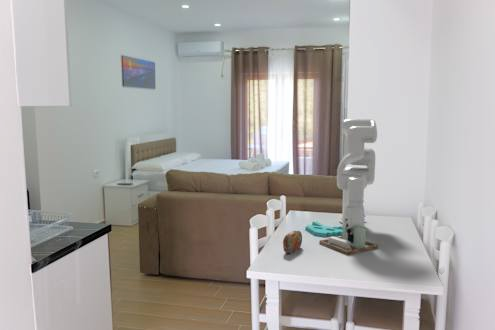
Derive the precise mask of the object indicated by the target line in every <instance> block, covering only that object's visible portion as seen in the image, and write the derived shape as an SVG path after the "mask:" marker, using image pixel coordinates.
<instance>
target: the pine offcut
mask: <svg viewBox="0 0 495 330" xmlns="http://www.w3.org/2000/svg"><path fill="white" fill-rule="evenodd" d="M328 243H329V242H328ZM329 244H331V243H329ZM331 245H334V246H336V247H339V248H341V249H344V250H347V251H350V250H351V247H348V248H344V247H341V246H338V245H335V244H331Z"/></svg>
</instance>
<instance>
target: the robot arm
mask: <svg viewBox="0 0 495 330" xmlns="http://www.w3.org/2000/svg"><path fill="white" fill-rule="evenodd" d="M341 130H342V132H343V135H344V139H345V156H344V157H343V158H342V159H341V160H340V162H339V163H338V166H337V171H336V186H337V188H338V189H339V190H342V209H341V210H342V215H341V218H339V220H338V222H339V223H340V224H342V226H344V227H343V230H345V231H346V232H347V233H348V241H350V242H351V243H353V238H354V235H353V228H356V227H361V228H365V226H366V225H365V218H366V214H365V206H364V203H365V201H364V195H365V194H364V192H365V191H364V190H365V189H366V188H367V186H369V185H372V184H373V183H374V182H375V176H376V175H375V174H376V172H375V171H376V153H375V151H374V149H373V148H365V144H374V143H376V142H377V138H378V128H377V123H376V120H375V119H370V118H369V119H368V118H346V119H344V120H343V121H342V122H341ZM348 165H349V166H348ZM347 166H348V167H347ZM359 166H360V167H359ZM361 166H362V167H361ZM350 229H351V231H350Z"/></svg>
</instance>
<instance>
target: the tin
mask: <svg viewBox="0 0 495 330" xmlns="http://www.w3.org/2000/svg"><path fill="white" fill-rule="evenodd" d="M302 243H303V235H302V232H301V231H300V230H292V231H290V232H289V233H288V234H285V236H284V238H283V241H282V245H283V252H284V253H285V254H286V253H287V254H293V253H295V252H296V251H297V250H299V249H301V247H302Z"/></svg>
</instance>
